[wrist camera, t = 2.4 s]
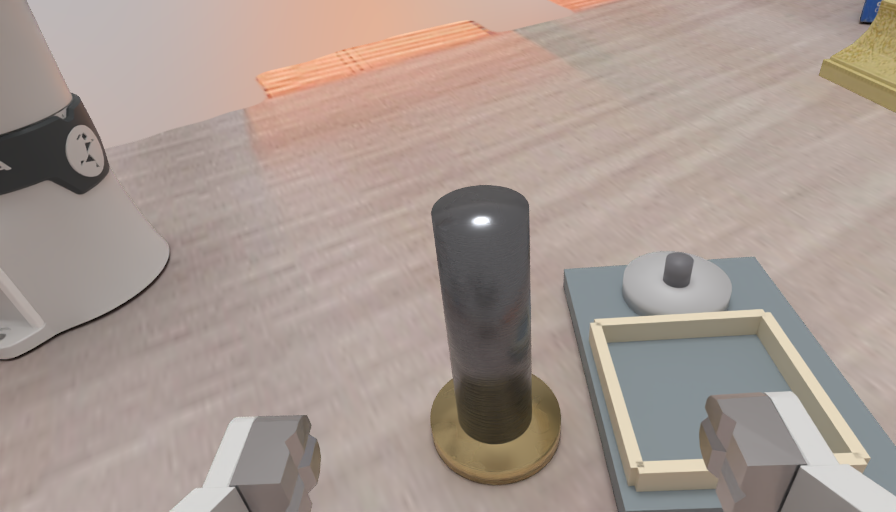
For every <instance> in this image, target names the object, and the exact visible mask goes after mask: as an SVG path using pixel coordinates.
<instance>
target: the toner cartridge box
mask: <svg viewBox="0 0 896 512" xmlns="http://www.w3.org/2000/svg"><path fill="white" fill-rule="evenodd" d="M881 1H882V0H865V4H864V7H863V10H862V14H861V17H860V22H873V21H874V19H875V17H876V16H877V13H878V10H879V7H880V4H881Z"/></svg>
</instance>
